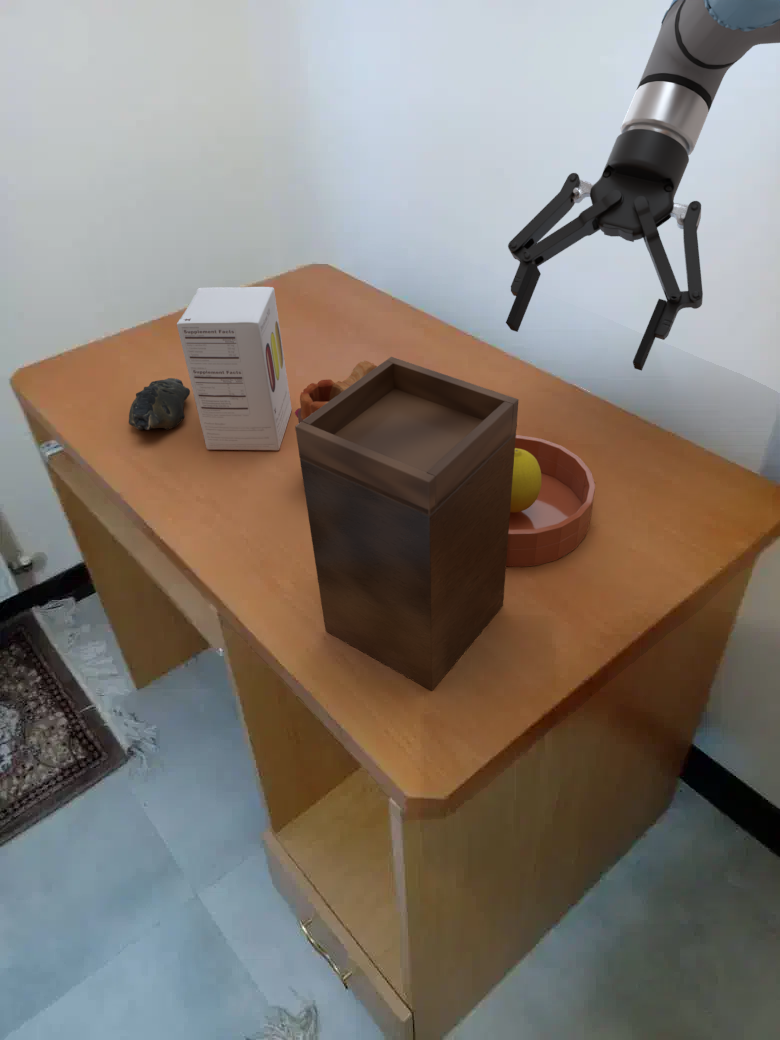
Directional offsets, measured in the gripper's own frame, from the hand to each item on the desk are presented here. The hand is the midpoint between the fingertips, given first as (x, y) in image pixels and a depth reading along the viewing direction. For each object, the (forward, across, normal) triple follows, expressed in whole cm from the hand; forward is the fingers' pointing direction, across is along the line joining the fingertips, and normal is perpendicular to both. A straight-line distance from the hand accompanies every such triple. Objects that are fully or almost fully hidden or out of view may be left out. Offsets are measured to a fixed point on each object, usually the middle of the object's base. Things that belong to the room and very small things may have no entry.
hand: (572, 346), depth 81 cm
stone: (+23, +47, -3) cm, 53 cm away
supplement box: (+21, +35, -5) cm, 41 cm away
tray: (+16, +4, +24) cm, 29 cm away
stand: (+30, +2, +10) cm, 32 cm away
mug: (+21, +19, -3) cm, 28 cm away
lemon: (+18, 0, -3) cm, 18 cm away
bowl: (+18, 0, -3) cm, 18 cm away
